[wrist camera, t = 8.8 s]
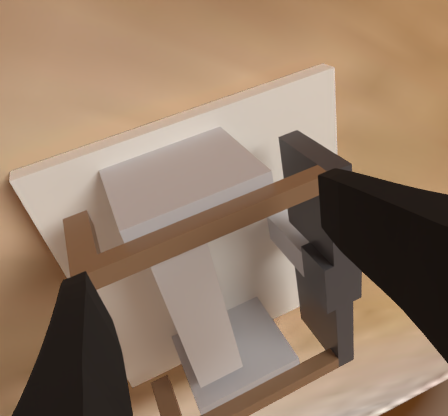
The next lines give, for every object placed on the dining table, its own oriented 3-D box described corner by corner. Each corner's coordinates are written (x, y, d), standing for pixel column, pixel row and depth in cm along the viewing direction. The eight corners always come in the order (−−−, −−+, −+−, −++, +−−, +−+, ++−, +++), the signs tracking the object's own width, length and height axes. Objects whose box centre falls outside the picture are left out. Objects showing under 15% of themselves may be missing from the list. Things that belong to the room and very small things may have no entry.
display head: (129, 375, 27) (152, 467, 22) (10, 171, 18) (2, 252, 13) (333, 277, 30) (392, 338, 25) (322, 63, 21) (412, 94, 16)
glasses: (155, 390, 24) (174, 455, 21) (62, 219, 16) (70, 280, 13) (321, 308, 26) (360, 355, 23) (306, 126, 19) (362, 159, 16)
